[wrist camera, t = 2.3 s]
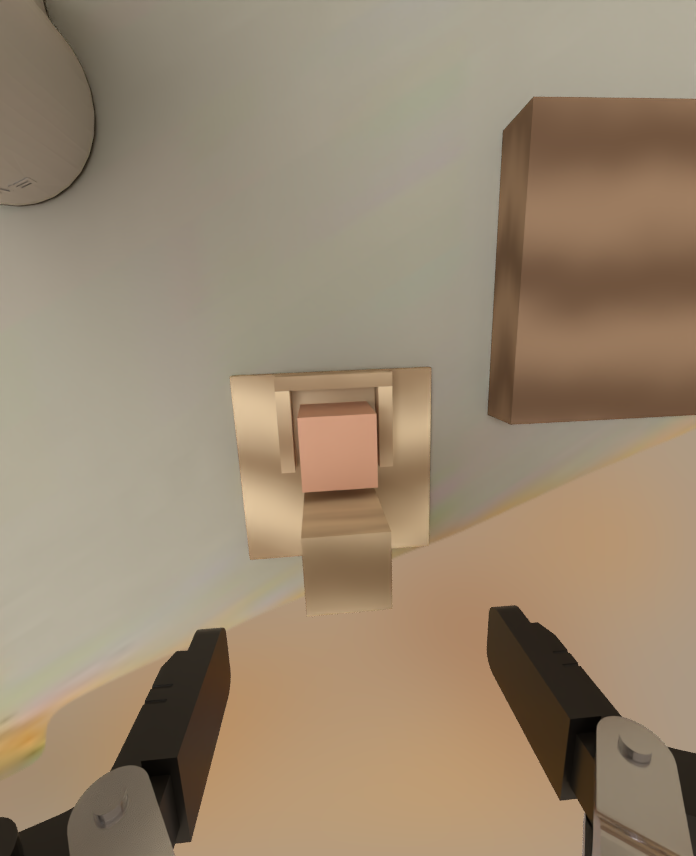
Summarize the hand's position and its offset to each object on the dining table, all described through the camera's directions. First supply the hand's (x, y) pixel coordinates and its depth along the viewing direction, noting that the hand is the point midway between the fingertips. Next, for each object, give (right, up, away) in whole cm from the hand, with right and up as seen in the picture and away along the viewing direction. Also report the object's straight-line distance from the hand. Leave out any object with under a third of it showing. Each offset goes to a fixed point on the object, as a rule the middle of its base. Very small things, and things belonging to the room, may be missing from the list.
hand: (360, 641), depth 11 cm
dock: (+16, +15, +12) cm, 26 cm away
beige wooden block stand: (-1, +4, +14) cm, 14 cm away
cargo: (-1, +6, +12) cm, 13 cm away
